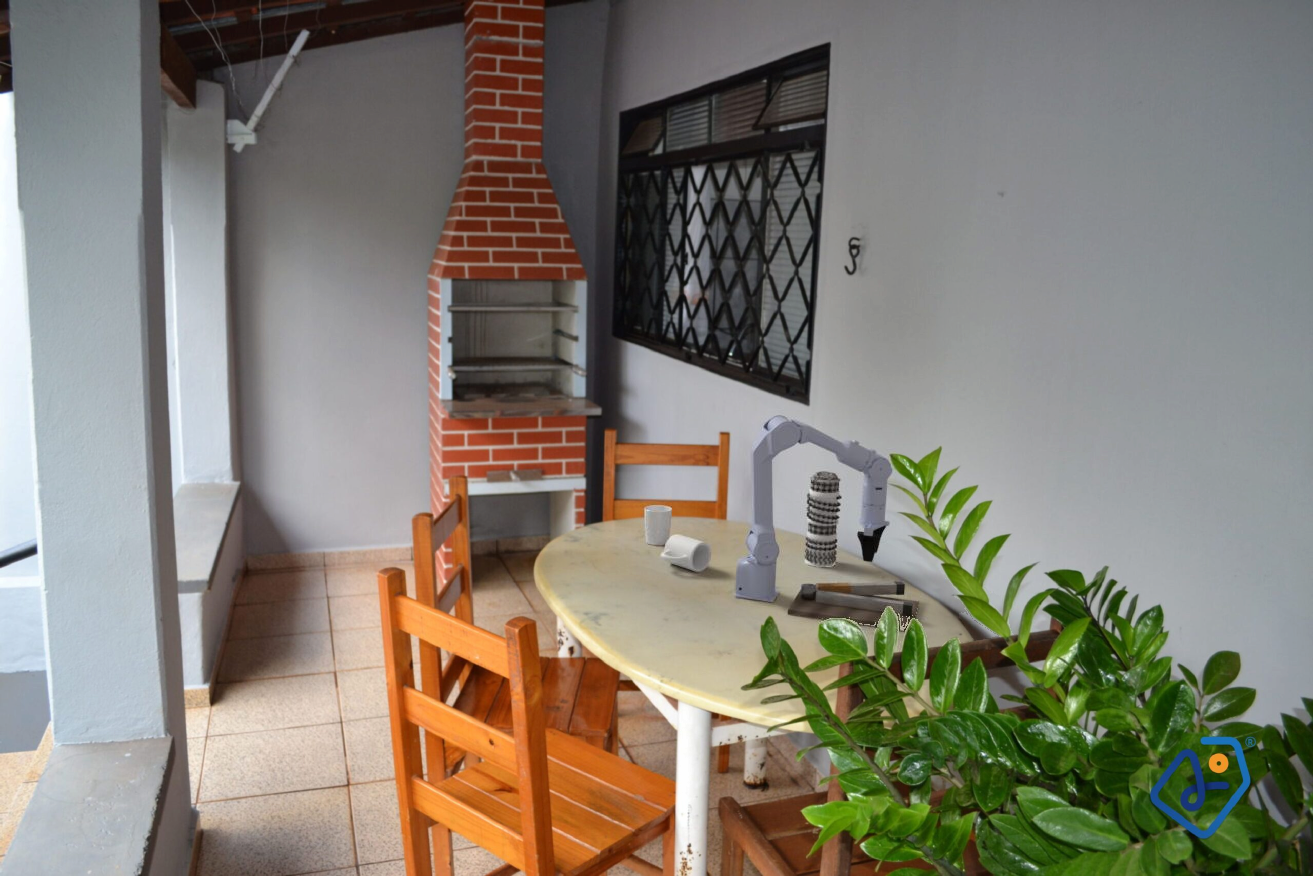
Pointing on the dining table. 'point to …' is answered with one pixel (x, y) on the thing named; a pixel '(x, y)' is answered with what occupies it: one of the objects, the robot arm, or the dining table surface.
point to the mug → (687, 553)
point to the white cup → (657, 524)
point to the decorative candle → (822, 519)
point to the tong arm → (853, 589)
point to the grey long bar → (863, 602)
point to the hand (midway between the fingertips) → (870, 556)
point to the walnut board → (844, 611)
